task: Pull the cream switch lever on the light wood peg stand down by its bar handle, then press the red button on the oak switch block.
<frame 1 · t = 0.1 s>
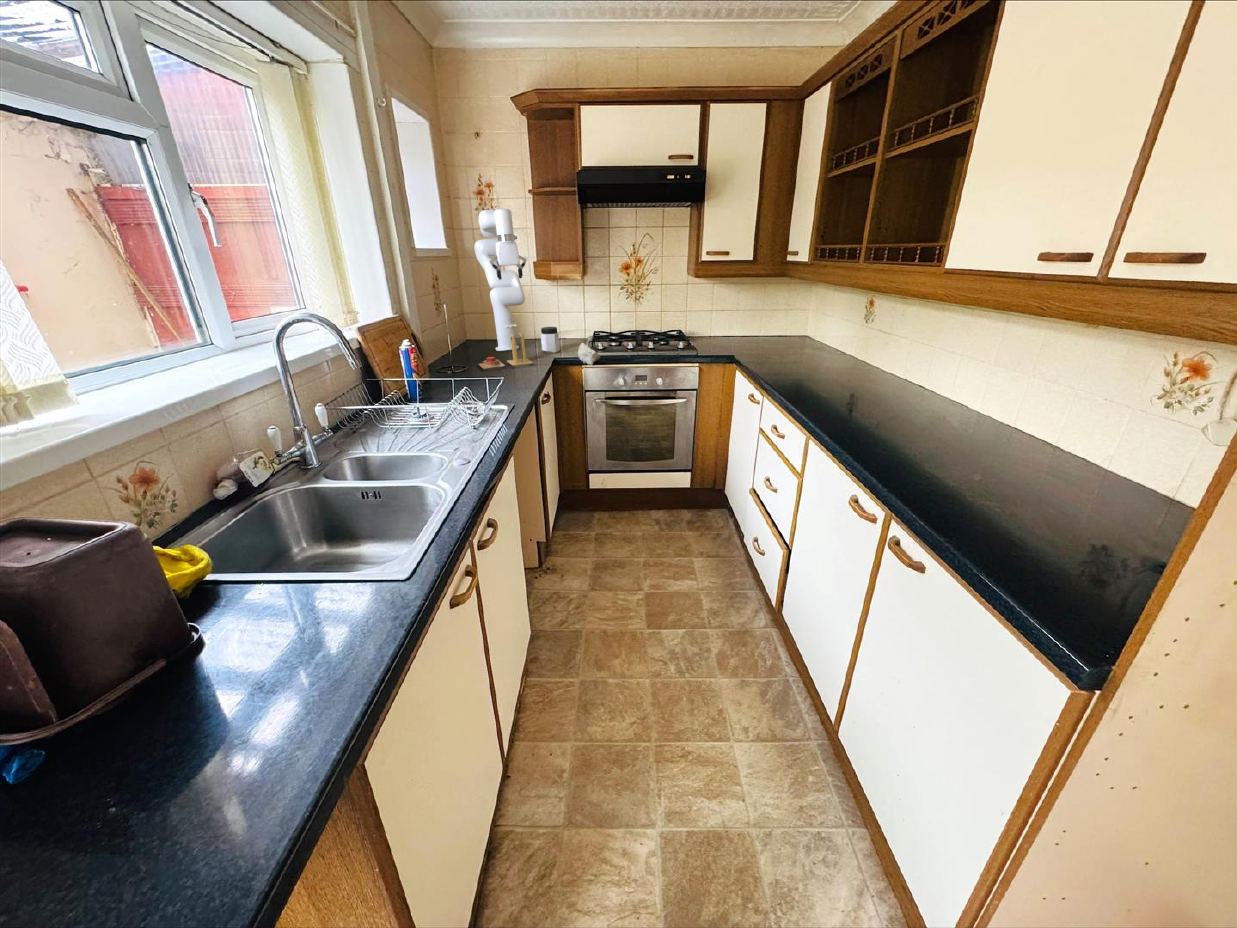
hand: (510, 278, 238), 37 cm above the worktop, tool pointing down, fingers open, 9 cm apart
jar: (551, 351, 263), on the worktop
light wood peg stand: (520, 364, 237), on the worktop
switch lever: (514, 332, 235), point 14 cm above the worktop, hinge at 25.0°
switch block: (492, 367, 233), on the worktop
button: (490, 359, 232), point 3 cm above the worktop, slide at 0.1 cm
grey rock: (592, 364, 232), on the worktop
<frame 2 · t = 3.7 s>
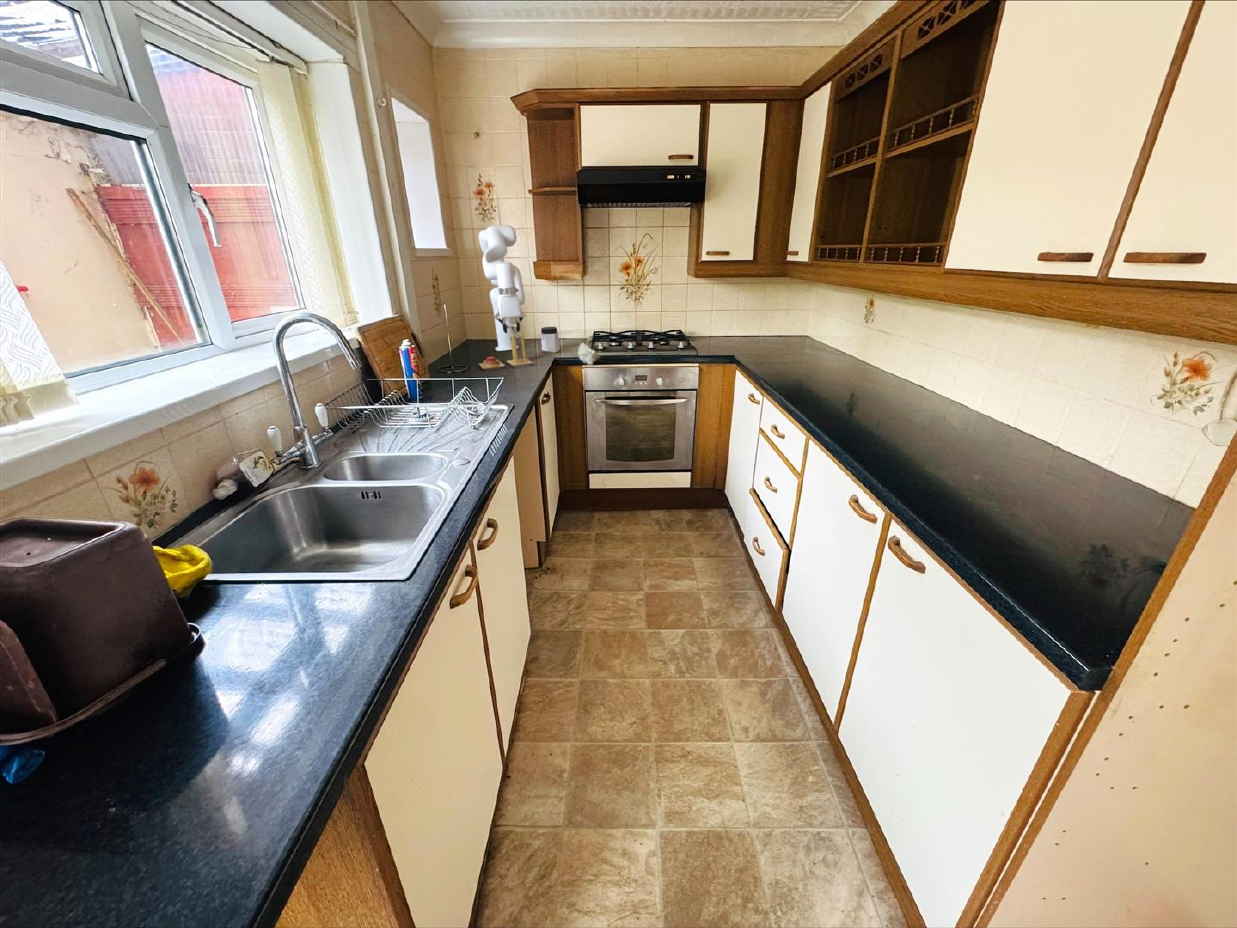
hand: (511, 331, 239), 14 cm above the worktop, tool pointing down, fingers closed on switch lever, 5 cm apart
switch lever: (514, 332, 235), point 14 cm above the worktop, hinge at 25.0°, touching gripper
everything else where it was.
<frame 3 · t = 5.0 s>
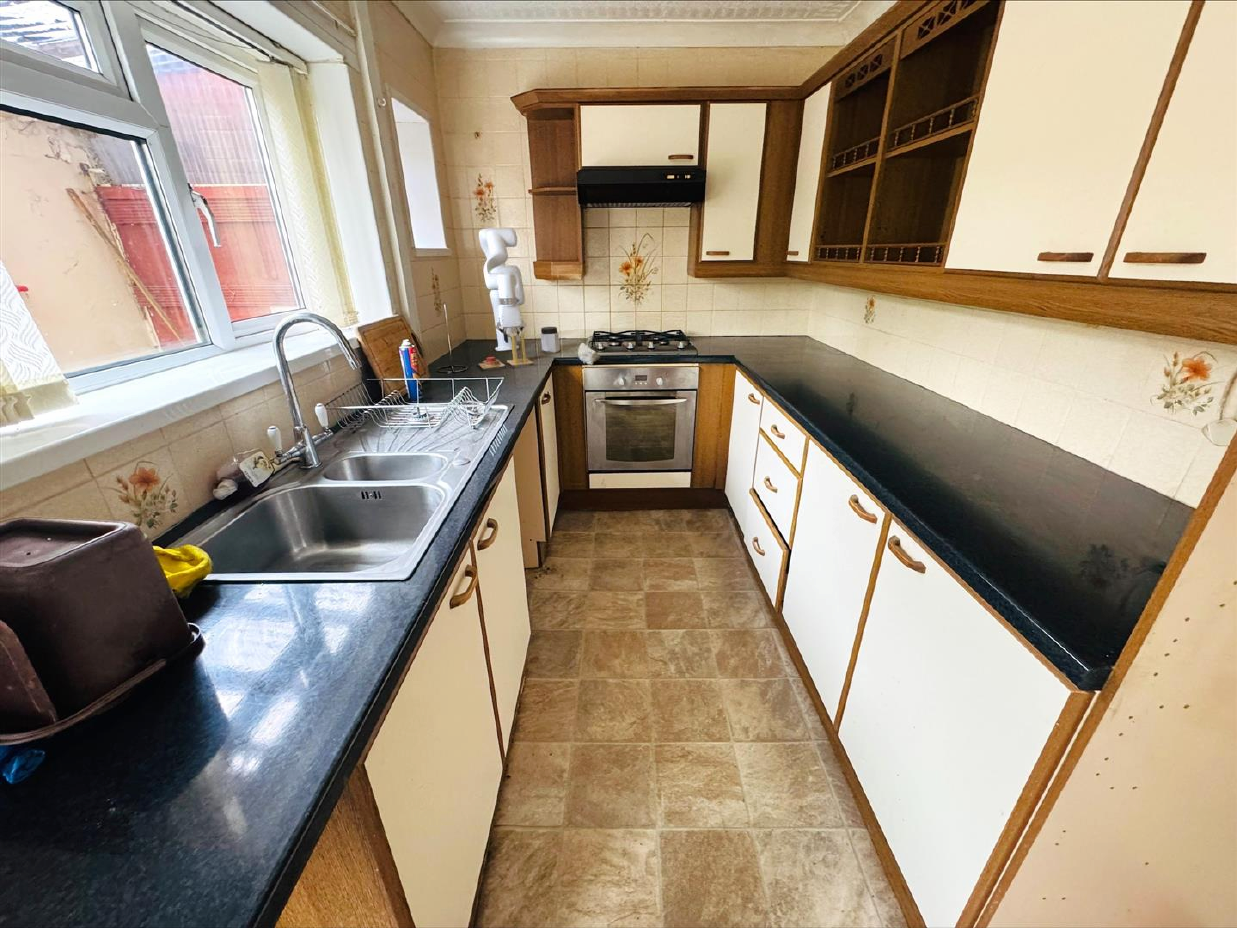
hand: (512, 341, 242), 9 cm above the worktop, tool pointing down, fingers closed on switch lever, 5 cm apart
switch lever: (514, 336, 236), point 12 cm above the worktop, hinge at 0.3°, touching gripper
everything else where it was.
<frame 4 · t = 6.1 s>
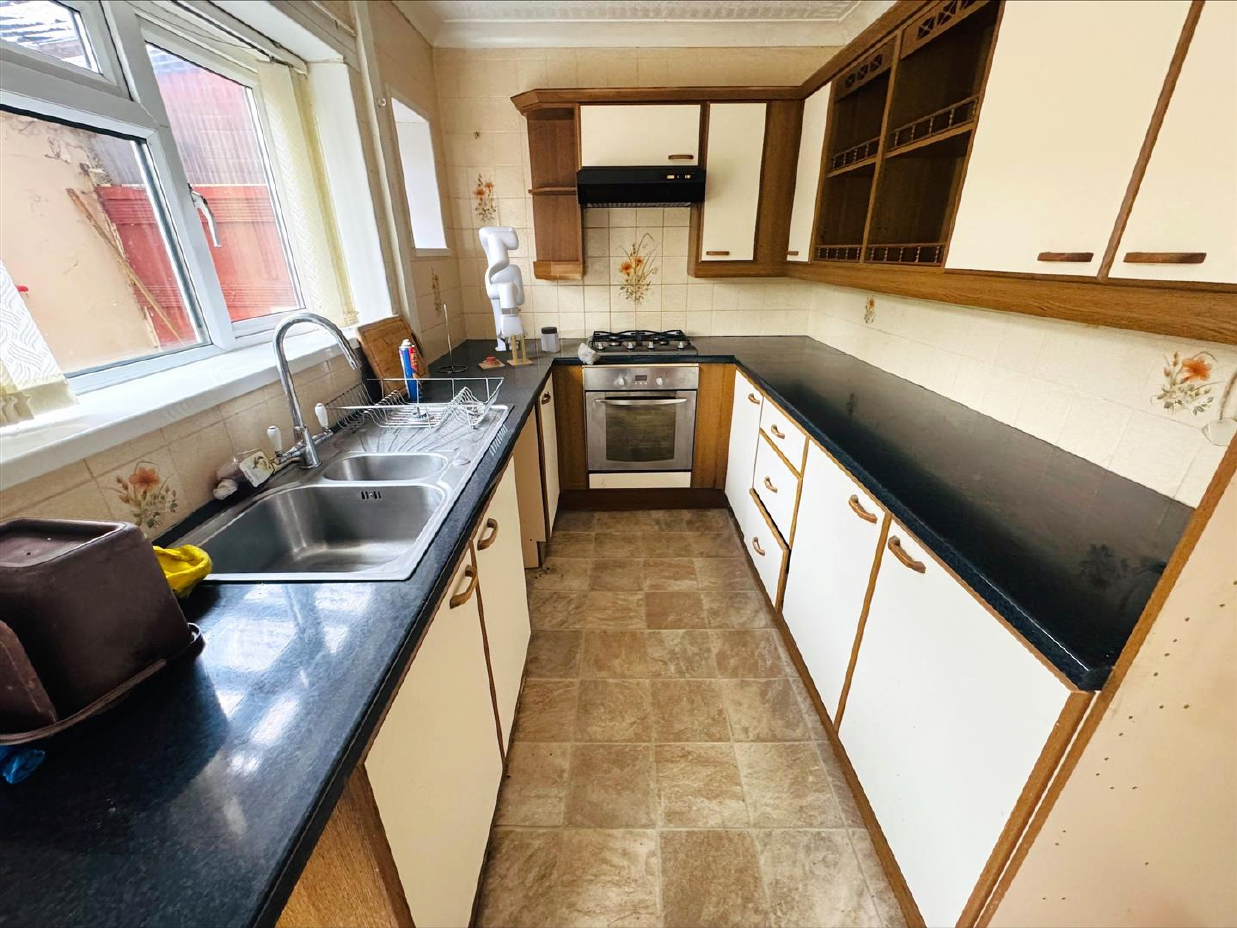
hand: (514, 350, 243), 5 cm above the worktop, tool pointing down, fingers closed on switch lever, 5 cm apart
switch lever: (515, 340, 237), point 10 cm above the worktop, hinge at -23.5°, touching gripper
everything else where it was.
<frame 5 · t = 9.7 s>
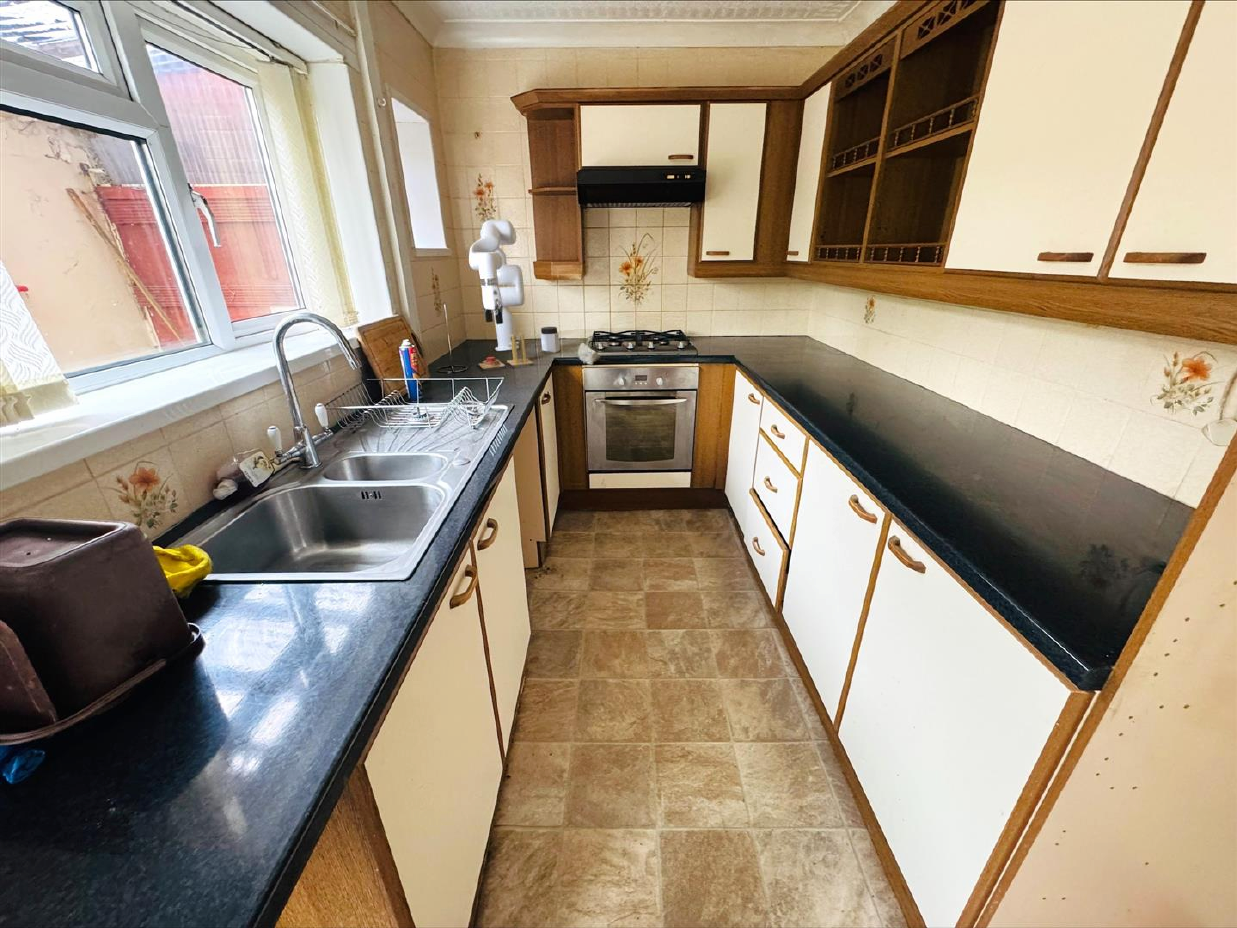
hand: (494, 322, 230), 19 cm above the worktop, tool pointing down, fingers open, 9 cm apart
switch lever: (515, 341, 237), point 10 cm above the worktop, hinge at -23.7°
everything else where it was.
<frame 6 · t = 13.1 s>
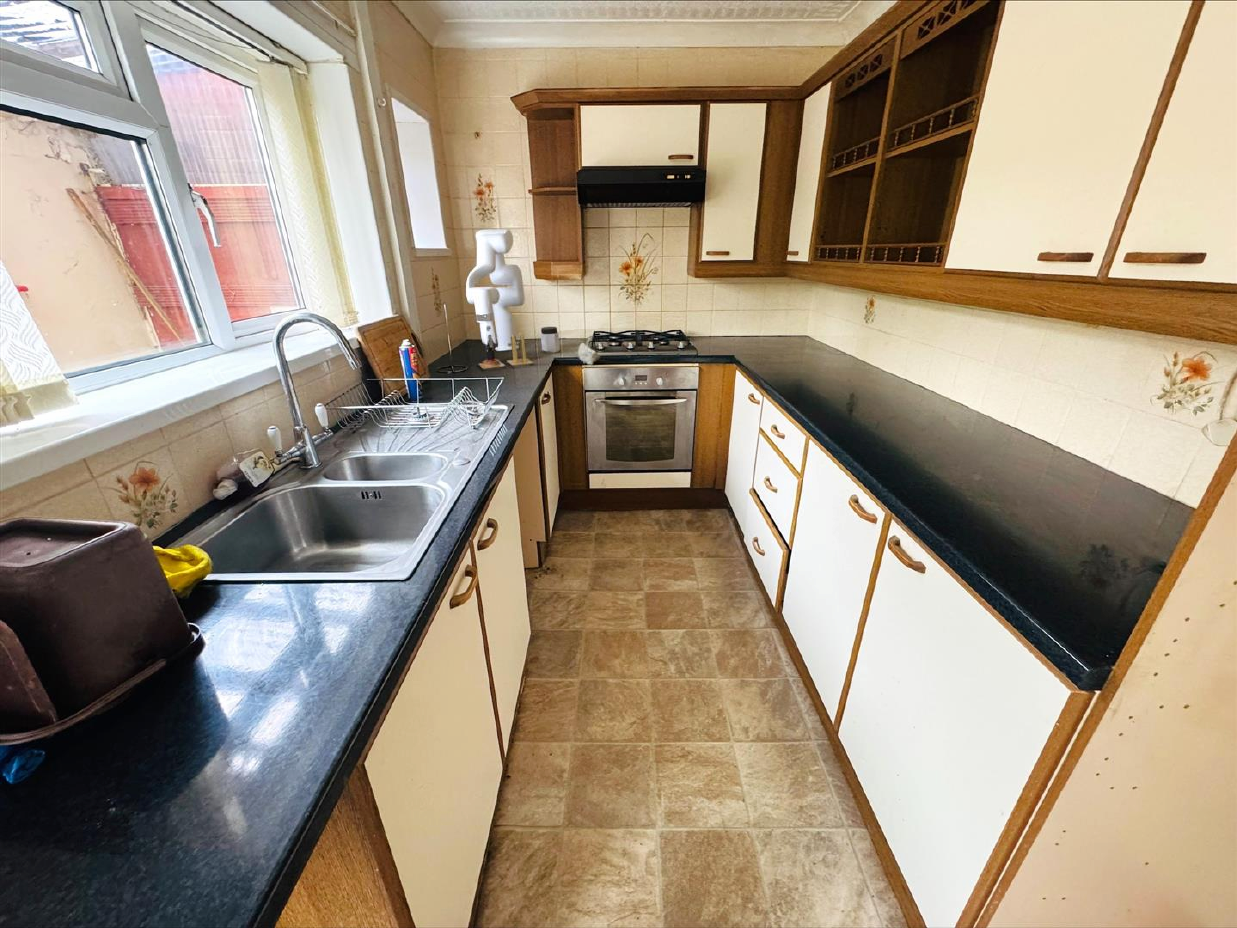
hand: (490, 359, 232), 4 cm above the worktop, tool pointing down, fingers closed
button: (491, 361, 232), point 3 cm above the worktop, slide at -0.6 cm, touching gripper
everything else where it was.
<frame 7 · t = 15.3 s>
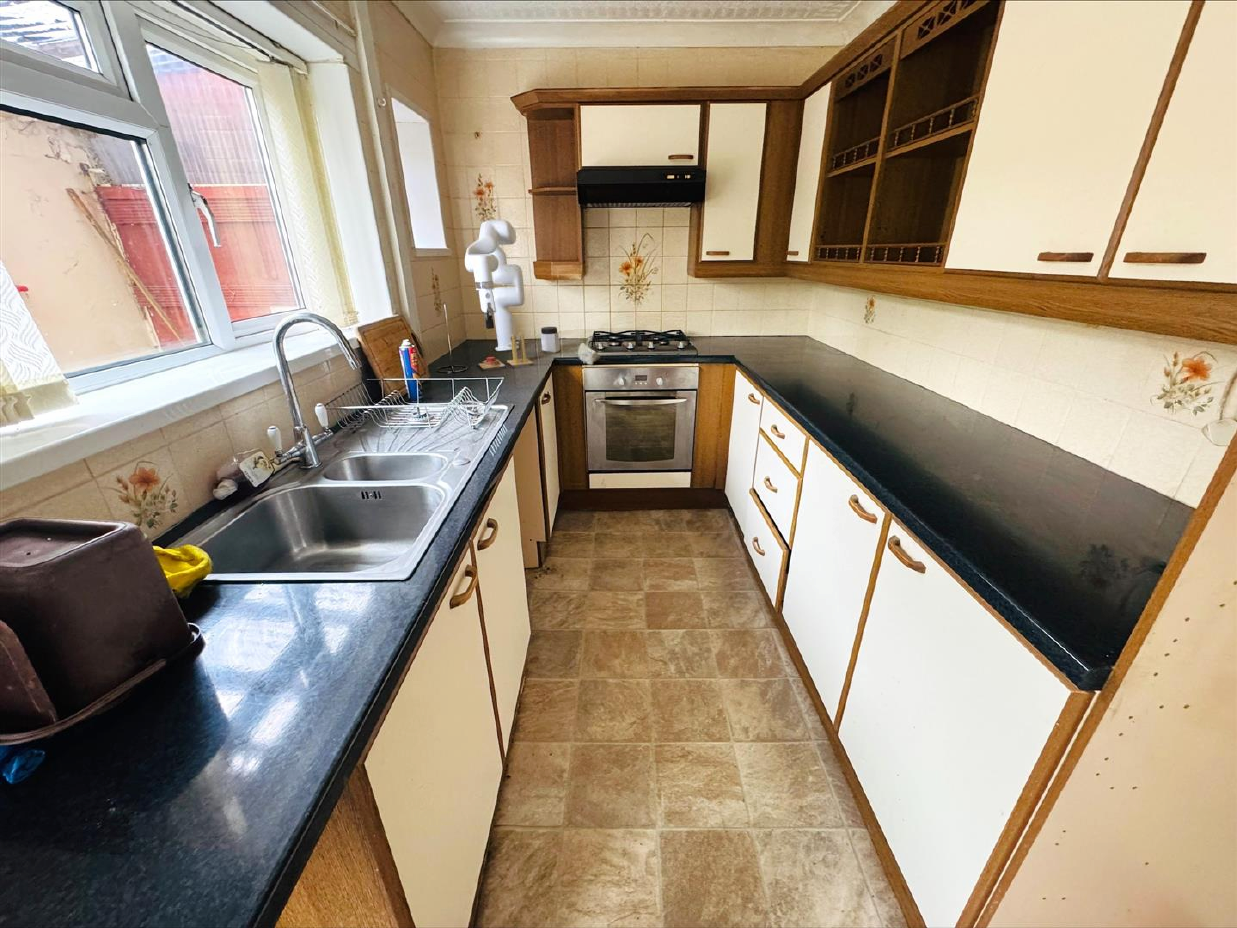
hand: (490, 328, 230), 17 cm above the worktop, tool pointing down, fingers closed
button: (490, 359, 232), point 3 cm above the worktop, slide at 0.1 cm
everything else where it was.
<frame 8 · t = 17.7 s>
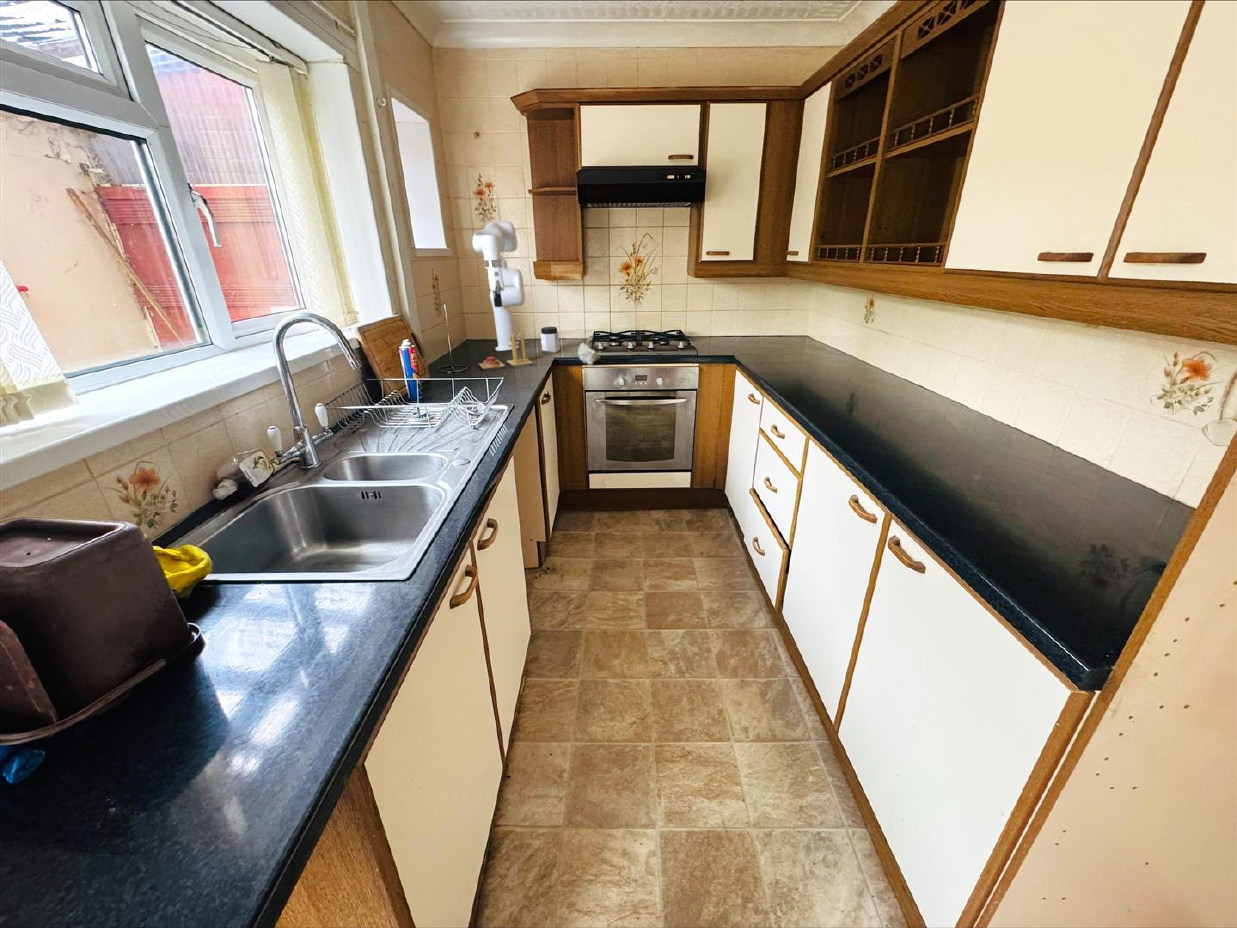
hand: (498, 306, 237), 25 cm above the worktop, tool pointing down, fingers closed
nothing on the worktop moved.
at the end: switch lever at -24° (first picture: +25°); button pushed in 1.1 cm at the most during the clip, back to where it started at the end; button slide at 0.1 cm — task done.
